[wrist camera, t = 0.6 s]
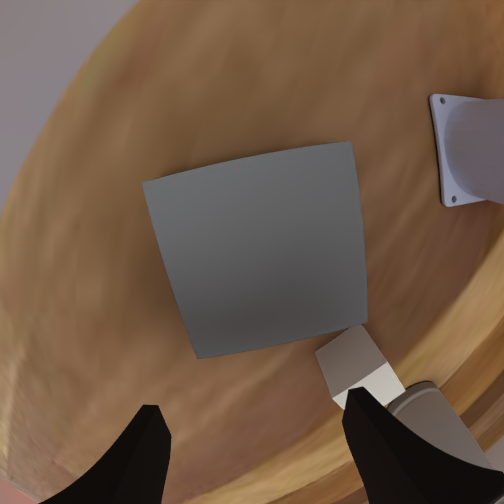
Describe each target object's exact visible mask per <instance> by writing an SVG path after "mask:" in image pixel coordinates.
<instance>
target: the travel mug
mask: <svg viewBox="0 0 504 504" xmlns="http://www.w3.org/2000/svg"><path fill="white" fill-rule="evenodd" d="M387 410H388V411H389V412H390V413H391V414H393V415H394V416H395V417H396V418H397V419H398V420H399V421H401V422H402V423H403V424H404V425H405V426H407V427H408V428H409V429H410V430H412V431H413V432H414V433H416V434H417V435H418V436H420V437H421V438H423V439H424V440H426V441H427V442H429V443H430V444H432V445H433V446H435V447H437V448H439V449H440V450H442V451H444V452H446V453H448V454H450V455H452V456H454V457H457V458H459V459H461V460H463V461H466V462H468V463H471V464H474V465H477V466H480V467H484V468H488V469H492V470H494V468H493V466H492V465H491V463H490V462H489V460H488V459H487V457H486V456H485V454H484V453H483V451H482V449H481V448H480V446H479V445H478V444H477V442H476V441H475V439H474V438H473V436H472V435H471V433H470V432H469V430H468V429H467V427H466V426H465V425H464V423H463V422H462V420H461V419H460V418H459V416H458V415H457V413H456V412H455V411H454V409H453V408H452V406H451V405H450V404H449V402H448V401H447V400H446V398H445V397H444V396H443V395H442V394H441V392H440V390H439V389H438V388H437V386H436V385H435V384H434V383H431V382H422V383H419V384H416V385H414V386H412V387H410V388H408V389H406V391H405V392H404V393H402V394H401V395H399V396H398V397H396V398H395V399H394V401H393V402H392V403H391V404H390V406H389V407H388V409H387ZM495 504H504V496H503V497H502V498H501V499H500V500H498V501H497V502H496V503H495Z"/></svg>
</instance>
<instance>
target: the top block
mask: <svg viewBox="0 0 504 504" xmlns="http://www.w3.org/2000/svg"><path fill="white" fill-rule="evenodd" d="M315 355H316V357H317V360H318V363H319V365H320V368H321V370H322V373H323V376H324V378H325V381H326V384H327V386H328V389H329V392H330V394H331V397H332V399H333V400H334V401H335V402H336V403H337V404H338V405H339V406H340V407H341V408H343V409H345V404H346V399H347V394H348V389H353V388H357V387H362V386H363V387H365V388H366V389H367V390H368V391H369V392H370V393H371V394H372V395H373V396H374V397H375V398H376V399H377V400H378V401H379V402H380V403H381V404H382V405H383V406H385V405H386V404H388V403H389V402H391V401H392V400H394V399H395V398H396V397H398V396H399V395H401V394H402V393H404V392H405V391H406V390H405V389H404V387H403V386H402V384H401V382H400V381H399V379H398V378H397V376H396V374H395V373H394V371H393V370H392V368H391V367H390V365H389V363H388V362H387V360H386V359H385V357H384V356H383V354H382V353H381V352H380V350H379V349H378V347H377V346H376V344H375V343H374V341H373V340H372V338H371V337H370V335H369V334H368V333H367V331H366V330H365V328H364V327H363V325H362V324H360V325H357V326H353V327H350V328H349V329H347V330H346V331H344V332H343V333H342V334H340V335H339V336H337V337H336V338H334V339H333V340H332V341H330V342H329V343H327V344H326V345H324V346H323V347H321V348H320V349H318V350H317V351H315Z"/></svg>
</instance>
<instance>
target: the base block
mask: <svg viewBox="0 0 504 504" xmlns="http://www.w3.org/2000/svg"><path fill="white" fill-rule="evenodd" d="M142 186H143V190H144V194H145V198H146V202H147V206H148V210H149V214H150V217H151V221H152V225H153V228H154V232H155V235H156V239H157V242H158V246H159V249H160V252H161V256H162V259H163V262H164V266H165V269H166V272H167V275H168V278H169V281H170V284H171V288H172V291H173V294H174V297H175V300H176V302H177V305H178V308H179V311H180V314H181V317H182V320H183V322H184V325H185V328H186V331H187V333H188V336H189V339H190V341H191V344H192V347H193V349H194V352H195V354H196V357H197V359H202V358H208V357H215V356H221V355H227V354H233V353H239V352H244V351H250V350H255V349H260V348H265V347H270V346H275V345H280V344H285V343H289V342H294V341H298V340H302V339H307V338H311V337H315V336H319V335H323V334H327V333H331V332H335V331H339V330H342V329H346V328H350V327H353V326H357V325H360V324H364V323H367V322H368V299H367V273H366V256H365V242H364V230H363V220H362V210H361V201H360V193H359V185H358V178H357V171H356V165H355V158H354V152H353V146H352V141H345V142H337V143H329V144H322V145H315V146H308V147H301V148H295V149H289V150H283V151H277V152H272V153H266V154H261V155H256V156H251V157H246V158H241V159H236V160H231V161H227V162H222V163H218V164H213V165H209V166H205V167H200V168H196V169H192V170H188V171H184V172H180V173H177V174H173V175H169V176H165V177H162V178H158V179H155V180H151V181H147V182H144V183H142Z"/></svg>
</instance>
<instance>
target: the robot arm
mask: <svg viewBox="0 0 504 504" xmlns="http://www.w3.org/2000/svg"><path fill="white" fill-rule="evenodd" d="M429 99H430V105H431V111H432V116H433V122H434V128H435V134H436V141H437V149H438V158H439V167H440V179H441V195H442V203H443V205H444V206H447V207H451V206H457V205H462V204H467V203H473V202H478V201H483V200H489V201H493V202H496V203H500V204H503V205H504V98H498V99H488V100H485V99H479V98H471V97H464V96H455V95H445V94H432V95H431V96H430V98H429ZM440 99H441V100H442V103H441V102H440ZM452 197H453V201H452ZM342 424H343V428H344V432H345V436H346V440H347V443H348V446H349V448H350V451H351V453H352V456H353V459H354V461H355V463H356V466H357V468H358V471H359V473H360V476H361V478H362V481H363V483H364V486H365V489H366V492H367V496H368V500H369V504H495V503H496V502H497V501H498V500H500V499H501V498H502V497H503V496H504V473H503V472H501V471H497V470H492V469H488V468H484V467H480V466H477V465H474V464H471V463H468V462H466V461H463V460H461V459H459V458H457V457H454V456H452V455H450V454H448V453H446V452H444V451H442V450H440V449H439V448H437V447H435V446H433V445H432V444H430V443H429V442H427V441H426V440H424V439H423V438H421V437H420V436H418V435H417V434H416V433H414V432H413V431H412V430H410V429H409V428H408V427H407V426H405V425H404V424H403V423H402V422H401V421H399V420H398V419H397V418H396V417H395V416H394V415H393V414H391V413H390V412H389V411H388V410H387V409H386V408H385V407H384V406H383V405H382V404H381V403H380V402H379V401H378V400H377V399H376V398H375V397H374V396H373V395H372V394H371V393H370V392H369V391H368V390H367V389H366V388H365V387H363V386H362V387H357V388H353V389H348V394H347V399H346V404H345V409H344V414H343V419H342ZM170 451H171V434H170V431H169V429H168V427H167V425H166V423H165V420H164V418H163V416H162V413H161V411H160V409H159V406H158V405H143V406H142V407H141V408H140V410H139V411H138V412H137V414H136V415H135V416H134V418H133V419H132V420H131V422H130V423H129V424H128V426H127V427H126V428H125V430H124V431H123V432H122V434H121V435H120V436H119V437H118V439H117V440H116V441H115V442H114V444H113V445H112V446H111V447H110V448H109V449H108V451H107V452H106V453H105V454H104V455H103V456H102V457H101V458H100V459H99V460H98V461H97V462H96V463H95V464H94V465H93V466H92V467H91V468H90V469H89V470H88V471H87V472H86V473H85V474H84V475H82V476H81V477H80V478H79V479H77V480H76V481H75V482H74V483H72V484H71V485H70V486H68V487H67V488H65V489H64V490H62V491H61V492H59V493H57V494H56V495H54V496H52V497H51V498H49V499H47V500H45V501H43V502H41V503H39V504H161V501H162V495H163V490H164V485H165V480H166V475H167V470H168V465H169V460H170Z"/></svg>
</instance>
